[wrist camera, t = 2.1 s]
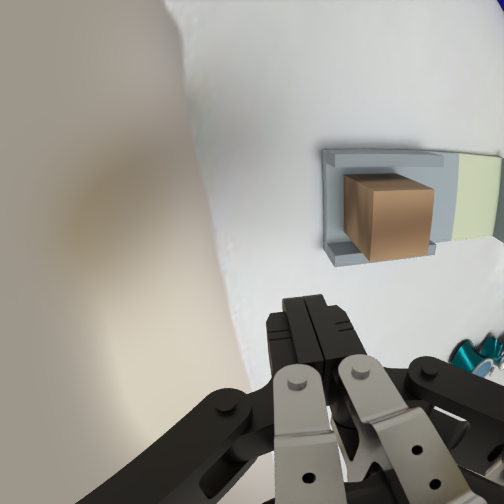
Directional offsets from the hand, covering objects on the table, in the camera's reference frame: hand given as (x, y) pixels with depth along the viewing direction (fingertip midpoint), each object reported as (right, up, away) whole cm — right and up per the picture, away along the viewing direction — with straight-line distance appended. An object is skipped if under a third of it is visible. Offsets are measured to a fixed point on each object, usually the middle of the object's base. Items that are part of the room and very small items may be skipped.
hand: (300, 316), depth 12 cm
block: (+8, +7, +13) cm, 17 cm away
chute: (+15, +8, +14) cm, 22 cm away
